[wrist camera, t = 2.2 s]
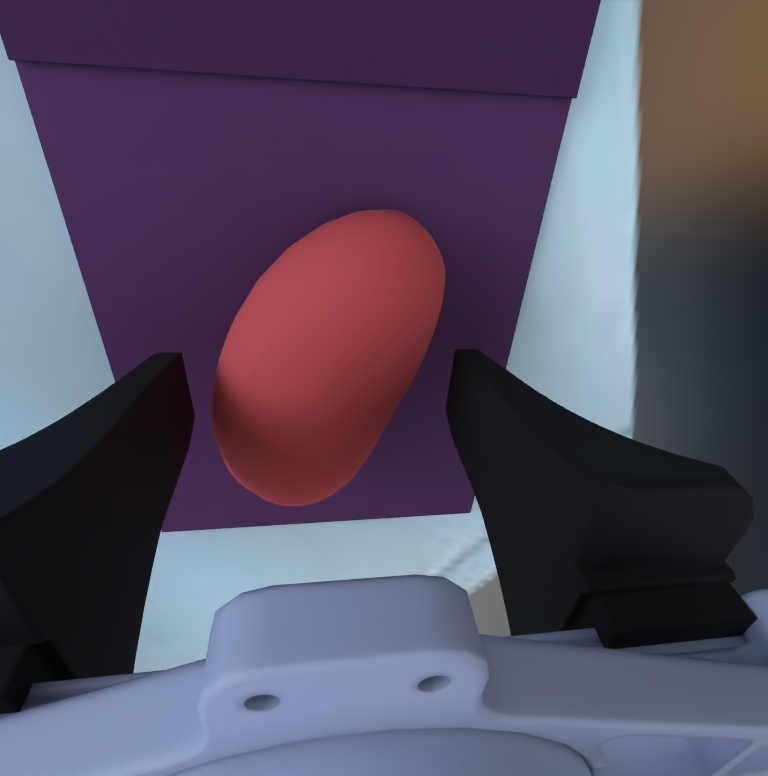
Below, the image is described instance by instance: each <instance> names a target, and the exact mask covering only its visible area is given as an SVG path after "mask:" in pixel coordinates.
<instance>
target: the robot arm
mask: <svg viewBox="0 0 768 776" xmlns="http://www.w3.org/2000/svg"><path fill="white" fill-rule="evenodd" d="M445 410H446V414H447V419H448V423H449V428H450V431H451V435H452V439H453V442H454V444H455V447H456V449H457V452H458V454H459V457H460V460H461V462H462V464H463V467H464V469H465V472H466V474H467V477H468V479H469V482H470V484H471V487H472V489H473V492H474V494H475V497H476V499H477V502H478V504H479V507H480V510H481V513H482V516H483V520H484V523H485V527H486V530H487V534H488V538H489V541H490V545H491V549H492V553H493V557H494V561H495V565H496V569H497V573H498V577H499V580H500V585H501V590H502V594H503V599H504V603H505V608H506V612H507V616H508V621H509V626H510V631H511V636H507V637H500V636H491V635H482V634H479V632H478V629H477V625H476V622H475V619H474V615H473V612H472V608H471V605H470V601H469V598H468V595H467V591H466V590H464V589H463V588H461V587H460V586H458V585H456V584H455V583H453V582H452V581H450V580H448V579H446V578H444V577H438V576H426V575H403V576H390V577H377V578H364V579H351V580H338V581H325V582H312V583H300V584H287V585H274V586H269V587H265V588H260V589H256V590H252V591H248V592H243V593H241V594H240V595H238V596H237V597H235V598H234V599H233V600H231V601H230V602H228V603H227V604H226V605H224V606H223V607H221V608H220V609H218V610H217V611H216V612H215V616H214V620H213V624H212V628H211V633H210V639H209V645H208V651H207V656H206V659H203V660H199V661H196V662H192V663H189V664H185V665H182V666H178V667H175V668H171V669H168V670H162V671H152V672H142V673H133V671H134V664H135V658H136V651H137V646H138V640H139V634H140V629H141V623H142V617H143V612H144V606H145V601H146V596H147V591H148V586H149V581H150V576H151V571H152V567H153V562H154V558H155V553H156V549H157V544H158V540H159V536H160V532H161V529H162V525H163V522H164V519H165V516H166V513H167V510H168V507H169V505H170V502H171V499H172V496H173V493H174V490H175V488H176V485H177V482H178V479H179V476H180V473H181V470H182V468H183V465H184V462H185V459H186V456H187V453H188V450H189V446H190V441H191V436H192V431H193V425H194V419H195V413H194V408H193V404H192V399H191V394H190V389H189V384H188V380H187V375H186V370H185V365H184V360H183V356H182V352H157V353H155V354H153V355H152V356H150V357H149V358H147V359H146V360H145V361H143V362H142V363H141V364H139V365H138V366H136V367H135V368H134V369H132V370H131V371H130V372H128V373H127V374H126V375H124V376H123V377H122V378H120V379H119V380H118V381H116V382H115V383H114V384H112V385H111V386H110V387H108V388H107V389H105V390H104V391H103V392H101V393H100V394H98V395H97V396H95V397H94V398H92V399H91V400H89V401H88V402H86V403H85V404H83V405H82V406H80V407H79V408H77V409H76V410H74V411H73V412H71V413H70V414H68V415H66V416H65V417H63V418H61V419H60V420H58V421H56V422H55V423H53V424H51V425H49V426H47V427H46V428H44V429H42V430H40V431H38V432H36V433H35V434H33V435H31V436H29V437H27V438H25V439H23V440H21V441H19V442H17V443H15V444H13V445H10V446H8V447H6V448H4V449H2V450H0V776H768V589H763V590H757V591H753V592H750V593H748V594H746V595H744V596H742V597H740V596H739V595H738V593H737V592H736V591H735V589H734V588H733V587H732V586H731V584H730V583H729V582H733V581H734V580H735V579H736V577H735V573H734V572H733V570H732V569H731V568H730V567H729V565H728V564H727V563H726V562H725V561H724V560H725V559H726V558H727V556H728V555H729V554H730V553H731V551H732V550H733V549H734V547H735V546H736V545H737V543H738V542H739V541H740V540H741V538H742V537H743V536H744V534H745V533H746V531H747V530H748V528H749V526H750V525H751V523H752V521H753V516H754V512H755V504H754V500H753V498H752V496H751V495H750V494H749V493H748V492H747V491H746V490H745V489H744V488H743V487H742V486H741V485H740V484H739V483H738V482H737V481H736V480H735V479H734V478H733V477H732V476H731V475H730V474H729V473H728V472H727V471H726V470H725V469H724V468H723V467H721V466H717V465H713V464H710V463H706V462H702V461H698V460H695V459H691V458H687V457H684V456H680V455H676V454H673V453H670V452H666V451H664V450H661V449H658V448H655V447H652V446H649V445H646V444H643V443H640V442H638V441H635V440H632V439H630V438H627V437H625V436H622V435H620V434H617V433H615V432H613V431H610V430H608V429H606V428H603V427H601V426H599V425H597V424H595V423H592V422H590V421H588V420H586V419H584V418H582V417H581V416H579V415H577V414H575V413H573V412H571V411H569V410H567V409H565V408H564V407H562V406H560V405H558V404H557V403H555V402H553V401H552V400H550V399H549V398H547V397H545V396H544V395H542V394H541V393H539V392H537V391H536V390H534V389H533V388H531V387H530V386H528V385H527V384H526V383H524V382H523V381H521V380H520V379H518V378H517V377H516V376H514V375H513V374H511V373H510V372H509V371H507V370H506V369H505V368H503V367H502V366H501V365H499V364H498V363H496V362H495V361H494V360H492V359H491V358H490V357H488V356H487V355H485V354H484V353H482V352H481V351H479V350H477V349H455V354H454V360H453V366H452V371H451V377H450V383H449V389H448V395H447V401H446V407H445Z"/></svg>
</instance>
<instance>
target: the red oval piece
mask: <svg viewBox="0 0 768 776" xmlns="http://www.w3.org/2000/svg"><path fill="white" fill-rule="evenodd" d="M444 285H445V266H444V262H443V258H442V256H441V253H440V250H439V249H438V247H437V245H436V243H435V241H434V239H433V238H432V236H431V235H430V234H429V232H428V231H427V230H426V229H425V228H424V227H423V226H422V225H421V224H420V223H419V222H418V221H417V220H415V219H414V218H412V217H411V216H410V215H408V214H406V213H404V212H401V211H398V210H393V209H381V210H363V211H357V212H354V213H351V214H349V215H346V216H343V217H341V218H338V219H335V220H332V221H330V222H327V223H325V224H323V225H321V226H320V227H318V228H317V229H315V230H314V231H312V232H311V233H309V234H308V235H306V236H305V237H303V238H302V239H300V240H299V241H297V242H296V243H294V244H293V245H291V246H290V247H289V248H288V249H287V250H286V251H285V252H284V253H283V254H282V255H281V256H280V257H279V258H278V259H277V260H276V261H275V262H274V263H273V264H272V265H271V266H270V267H269V268H268V269H267V271H266V272H265V273H264V274H263V275H262V276H261V277H260V278H259V279H258V281H257V282H256V284H255V285H254V287H253V289H252V290H251V292H250V294H249V295H248V297H247V298H246V300H245V302H244V303H243V305H242V307H241V308H240V310H239V311H238V313H237V315H236V316H235V319H234V321H233V323H232V325H231V328H230V330H229V332H228V335H227V337H226V340H225V343H224V346H223V349H222V352H221V355H220V358H219V361H218V365H217V368H216V372H215V376H214V381H213V401H212V428H213V433H214V437H215V440H216V442H217V445H218V447H219V450H220V452H221V455H222V457H223V459H224V462H225V464H226V466H227V468H228V470H229V471H230V473H231V474H232V475H233V477H234V478H235V479H236V480H237V481H238V482H239V483H240V484H241V485H242V486H244V487H245V488H246V489H248V490H250V491H251V492H253V493H254V494H256V495H258V496H259V497H261V498H263V499H264V500H266V501H269V502H272V503H274V504H278V505H284V506H303V505H309V504H313V503H316V502H319V501H322V500H324V499H326V498H327V497H329V496H331V495H333V494H334V493H335V492H337V491H338V490H339V489H340V488H342V487H343V486H344V485H346V484H347V483H348V482H349V481H350V480H351V479H352V478H353V477H354V476H355V475H356V473H357V472H358V471H359V469H360V468H361V467H362V465H363V464H364V462H365V461H366V460H367V458H368V457H369V455H370V454H371V452H372V450H373V448H374V447H375V445H376V443H377V441H378V440H379V438H380V436H381V434H382V432H383V430H384V429H385V427H386V425H387V423H388V422H389V420H390V418H391V417H392V415H393V413H394V412H395V410H396V409H397V407H398V405H399V404H400V402H401V400H402V399H403V397H404V395H405V394H406V392H407V390H408V389H409V387H410V385H411V383H412V381H413V379H414V377H415V375H416V373H417V371H418V369H419V367H420V365H421V363H422V361H423V359H424V356H425V354H426V351H427V349H428V346H429V344H430V341H431V339H432V336H433V334H434V331H435V327H436V324H437V320H438V317H439V313H440V310H441V306H442V301H443V293H444Z"/></svg>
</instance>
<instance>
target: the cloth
mask: <svg viewBox="0 0 768 776" xmlns="http://www.w3.org/2000/svg"><path fill="white" fill-rule="evenodd" d="M600 1H601V0H0V34H1V37H2V40H3V43H4V47H5V50H6V53H7V56H8V59H9V60H15V63H16V66H17V69H18V72H19V75H20V79H21V82H22V85H23V88H24V91H25V95H26V98H27V101H28V104H29V107H30V111H31V114H32V117H33V120H34V123H35V127H36V130H37V133H38V136H39V139H40V143H41V146H42V149H43V152H44V155H45V159H46V162H47V165H48V168H49V171H50V175H51V178H52V181H53V184H54V187H55V191H56V194H57V197H58V200H59V203H60V207H61V210H62V213H63V216H64V219H65V223H66V226H67V229H68V232H69V235H70V239H71V242H72V245H73V248H74V251H75V255H76V258H77V261H78V264H79V267H80V271H81V274H82V277H83V280H84V283H85V287H86V290H87V293H88V296H89V299H90V303H91V306H92V309H93V312H94V315H95V319H96V322H97V325H98V328H99V331H100V335H101V338H102V341H103V344H104V347H105V351H106V354H107V357H108V360H109V363H110V367H111V370H112V373H113V376H114V379H115V382H116V381H118V380H119V379H120V378H122V377H123V376H124V375H126V374H127V373H128V372H130V371H131V370H132V369H134V368H135V367H136V366H138V365H139V364H141V363H142V362H143V361H145V360H146V359H147V358H149V357H150V356H152V355H153V354H155V353H157V352H182V356H183V360H184V365H185V370H186V375H187V380H188V384H189V389H190V394H191V399H192V404H193V408H194V413H195V419H194V425H193V431H192V436H191V441H190V446H189V450H188V453H187V456H186V459H185V462H184V465H183V468H182V470H181V473H180V476H179V479H178V482H177V485H176V488H175V490H174V493H173V496H172V499H171V502H170V505H169V507H168V510H167V513H166V516H165V519H164V522H163V525H162V529H161V530H162V532H173V531H189V530H205V529H220V528H236V527H252V526H268V525H284V524H300V523H316V522H332V521H348V520H364V519H379V518H395V517H411V516H427V515H443V514H459V513H470V512H471V508H472V504H473V500H474V496H475V494H474V492H473V489H472V487H471V484H470V482H469V479H468V477H467V474H466V472H465V469H464V467H463V464H462V462H461V460H460V457H459V454H458V452H457V449H456V447H455V444H454V442H453V439H452V435H451V431H450V428H449V423H448V419H447V414H446V410H445V407H446V401H447V395H448V389H449V383H450V377H451V371H452V366H453V360H454V354H455V349H477V350H479V351H481V352H482V353H484V354H485V355H487V356H488V357H490V358H491V359H492V360H494V361H495V362H496V363H498V364H499V365H501V366H502V367H503V368H505V369H506V365H507V361H508V357H509V353H510V349H511V345H512V340H513V336H514V332H515V328H516V324H517V320H518V316H519V312H520V308H521V304H522V300H523V295H524V291H525V287H526V283H527V279H528V275H529V271H530V267H531V263H532V259H533V255H534V250H535V246H536V242H537V238H538V234H539V230H540V226H541V222H542V218H543V214H544V209H545V205H546V201H547V197H548V193H549V189H550V185H551V181H552V177H553V173H554V169H555V164H556V160H557V156H558V152H559V148H560V144H561V140H562V136H563V132H564V128H565V124H566V119H567V115H568V111H569V107H570V103H571V99H572V98H576V97H577V94H578V90H579V85H580V81H581V77H582V73H583V69H584V65H585V61H586V57H587V53H588V49H589V45H590V41H591V37H592V33H593V29H594V25H595V21H596V17H597V13H598V9H599V5H600ZM381 209H393V210H398V211H401V212H404V213H406V214H408V215H410V216H411V217H412V218H414V219H415V220H417V221H418V222H419V223H420V224H421V225H422V226H423V227H424V228H425V229H426V230H427V231H428V232H429V234H430V235H431V236H432V238H433V239H434V241H435V243H436V245H437V247H438V249H439V250H440V253H441V256H442V258H443V262H444V266H445V285H444V293H443V301H442V306H441V310H440V313H439V317H438V320H437V324H436V327H435V331H434V334H433V336H432V339H431V341H430V344H429V346H428V349H427V351H426V354H425V356H424V359H423V361H422V363H421V365H420V367H419V369H418V371H417V373H416V375H415V377H414V379H413V381H412V383H411V385H410V387H409V389H408V390H407V392H406V394H405V395H404V397H403V399H402V400H401V402H400V404H399V405H398V407H397V409H396V410H395V412H394V413H393V415H392V417H391V418H390V420H389V422H388V423H387V425H386V427H385V429H384V430H383V432H382V434H381V436H380V438H379V440H378V441H377V443H376V445H375V447H374V448H373V450H372V452H371V454H370V455H369V457H368V458H367V460H366V461H365V462H364V464H363V465H362V467H361V468H360V469H359V471H358V472H357V473H356V475H355V476H354V477H353V478H352V479H351V480H350V481H349V482H348V483H347V484H346V485H344V486H343V487H342V488H340V489H339V490H338V491H337V492H335V493H334V494H333V495H331V496H329V497H327V498H326V499H324V500H322V501H319V502H316V503H313V504H309V505H303V506H284V505H278V504H274V503H272V502H269V501H266V500H264V499H263V498H261V497H259V496H258V495H256V494H254V493H253V492H251V491H250V490H248V489H246V488H245V487H244V486H242V485H241V484H240V483H239V482H238V481H237V480H236V479H235V478H234V477H233V475H232V474H231V473H230V471H229V470H228V468H227V466H226V464H225V462H224V459H223V457H222V455H221V452H220V450H219V447H218V445H217V442H216V440H215V437H214V433H213V428H212V401H213V381H214V376H215V372H216V368H217V365H218V361H219V358H220V355H221V352H222V349H223V346H224V343H225V340H226V337H227V335H228V332H229V330H230V328H231V325H232V323H233V321H234V319H235V316H236V315H237V313H238V311H239V310H240V308H241V307H242V305H243V303H244V302H245V300H246V298H247V297H248V295H249V294H250V292H251V290H252V289H253V287H254V285H255V284H256V282H257V281H258V279H259V278H260V277H261V276H262V275H263V274H264V273H265V272H266V271H267V269H268V268H269V267H270V266H271V265H272V264H273V263H274V262H275V261H276V260H277V259H278V258H279V257H280V256H281V255H282V254H283V253H284V252H285V251H286V250H287V249H288V248H289V247H290V246H291V245H293V244H294V243H296V242H297V241H299V240H300V239H302V238H303V237H305V236H306V235H308V234H309V233H311V232H312V231H314V230H315V229H317V228H318V227H320V226H321V225H323V224H325V223H327V222H330V221H332V220H335V219H338V218H341V217H343V216H346V215H349V214H351V213H354V212H357V211H363V210H381Z"/></svg>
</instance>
